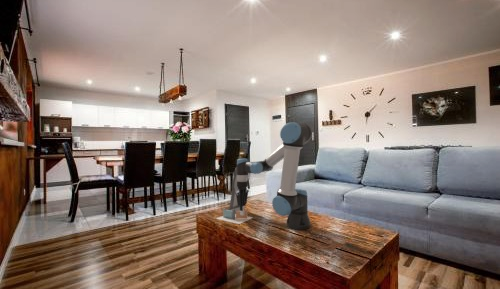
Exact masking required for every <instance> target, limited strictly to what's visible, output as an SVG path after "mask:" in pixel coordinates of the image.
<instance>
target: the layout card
mask: <svg viewBox="0 0 500 289" xmlns="http://www.w3.org/2000/svg"><path fill="white" fill-rule="evenodd" d="M251 219H254V216H248V218H240V219H236V213H235V219H233V218H232V219H231V218H227V217H223V215H222V216H221V215H220V216H219V217H216V220H219V221H224V222H227V223H231V224H235V225H241V224H243V223H246V222H248V221H249V220H251Z"/></svg>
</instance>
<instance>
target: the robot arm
mask: <svg viewBox="0 0 500 289" xmlns="http://www.w3.org/2000/svg"><path fill="white" fill-rule="evenodd" d="M279 137H280V139H281V141H282V144H281V145H280V146H279V147H277V148H276V149H275V150H274V151H273V152H272V153H271V154H269V155H268V156H267V157H266V158H265V159H263V160H259V161H249V160H248V158H238V159H236V168H237V187H238V191H237V192H235V194H236V197H237V203H238V205H239V206H240V215H242V216H244V211H245V206H247V202H248V195H249V189H247V188H248V184H249V182H248V181H249V178H248V177H249V176H248V175H249V174H254V175H256V174H257V175H258V174H261V173H264V172H265V173H266V172H270V171H273V168H274V167H275V165H277V164H278V163H280V162H281V161H282V160H283V161H282V171H281V180H280V187H279V188H278V189H277V192H276V196H274V198H273V199H272V202H271V206H272V209H273V210H274V212H275V213H276V214H277V215H279V216H281V217H282V216H283V217H285V216H287V219H286V227H287V228H289V229H292V230H298V231H300V230H301V231H303V230H308V229H310V228H311V226H312V225H311V223H312V222H311V220H310V217H309V214H308V208H309V207H308V192H307V190H306V189H301V188H300V189H299V188H296V185H297V184H296V183H297V177H298V168H299V162H300V152H301V149H303V148H304V145H306V144H307V143H308V142H309V141H310V140H311V139H312V137H313V130H312V128H311V126H310V125H309V124H307V123H303V122H296V121H294V122H293V121H292V122H287V123H284V125H283V126H282V127H281V129H280V132H279Z"/></svg>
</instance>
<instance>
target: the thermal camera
mask: <svg viewBox="0 0 500 289" xmlns="http://www.w3.org/2000/svg"><path fill="white" fill-rule="evenodd" d="M237 191H238V187H237V167H235V169H234V173H233V177H232V183H231V194H230V204H229V207H228V209H227V210H229V211H233V209H235V214H236V211H240V206H239V205H238V203H237V197H236V194H235V192H237Z"/></svg>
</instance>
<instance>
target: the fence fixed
mask: <svg viewBox="0 0 500 289" xmlns="http://www.w3.org/2000/svg"><path fill="white" fill-rule="evenodd" d="M222 212H223V213H222V216H223V217H227V218H231V219H232V218H233V219H235V214H236V213H235V209H233V211H229V210H228V209H226V208H225V207H224V208H223V209H222Z"/></svg>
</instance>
